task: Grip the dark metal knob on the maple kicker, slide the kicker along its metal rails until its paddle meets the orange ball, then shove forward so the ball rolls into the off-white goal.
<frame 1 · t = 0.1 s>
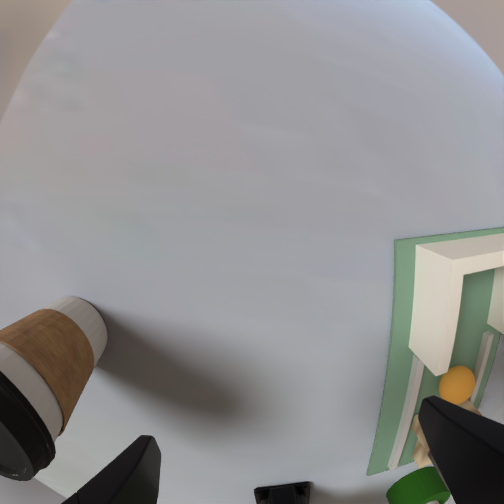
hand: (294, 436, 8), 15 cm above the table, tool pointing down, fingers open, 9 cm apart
candle: (411, 483, 30), on the table
kicker: (448, 452, 22), point 5 cm above the table, slide at 0.0 cm
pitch: (447, 365, 25), on the table
ball: (456, 385, 23), point 2 cm above the table, touching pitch
coffee cup: (79, 327, 23), on the table
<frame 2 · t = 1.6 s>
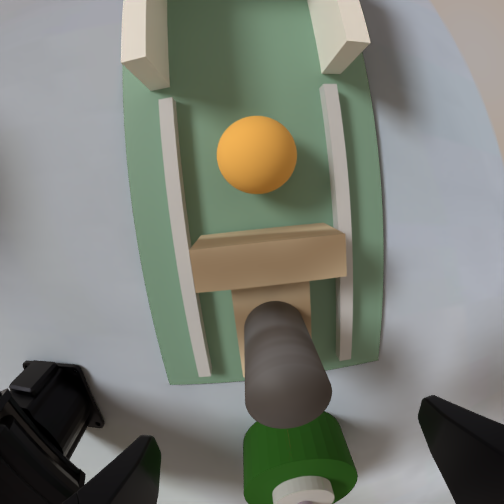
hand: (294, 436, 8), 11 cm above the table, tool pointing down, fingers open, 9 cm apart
candle: (292, 440, 22), on the table
kicker: (276, 326, 14), point 5 cm above the table, slide at 0.0 cm
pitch: (253, 141, 17), on the table
ball: (256, 154, 15), point 2 cm above the table, touching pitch
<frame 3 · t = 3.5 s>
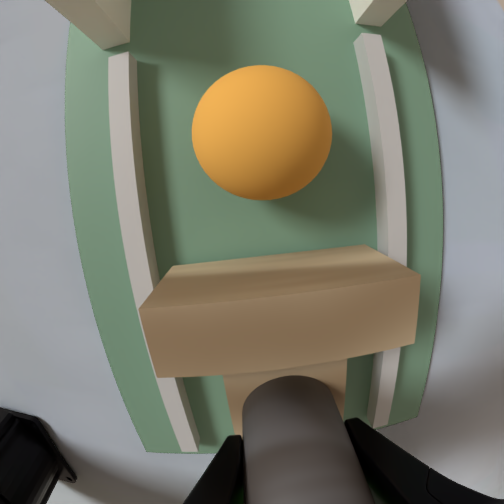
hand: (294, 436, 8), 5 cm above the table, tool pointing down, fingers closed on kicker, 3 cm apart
kicker: (295, 426, 8), point 5 cm above the table, slide at 0.0 cm, touching gripper
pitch: (254, 116, 11), on the table
ball: (261, 132, 8), point 2 cm above the table, touching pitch
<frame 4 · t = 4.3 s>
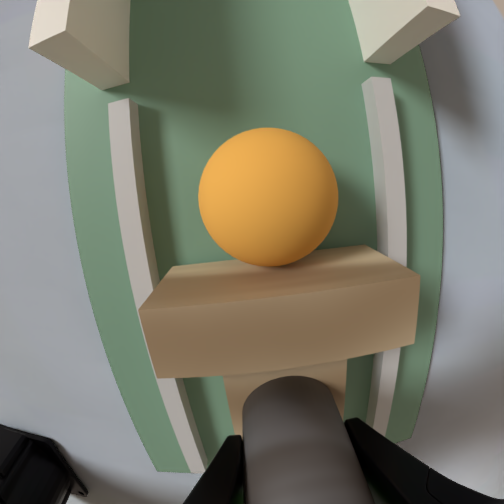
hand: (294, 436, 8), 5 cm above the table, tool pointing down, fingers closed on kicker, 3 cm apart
kicker: (295, 426, 8), point 5 cm above the table, slide at 1.9 cm, touching gripper
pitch: (260, 166, 11), on the table
ball: (268, 196, 9), point 2 cm above the table, touching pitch
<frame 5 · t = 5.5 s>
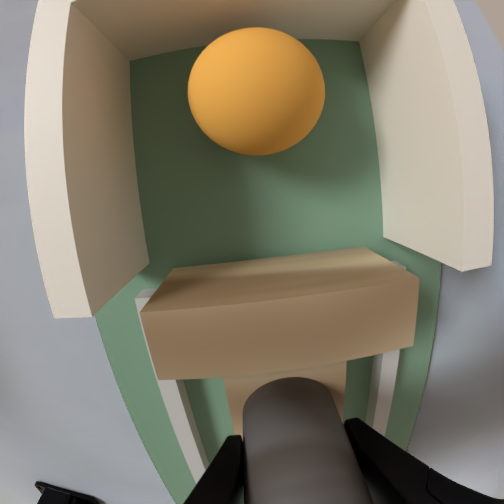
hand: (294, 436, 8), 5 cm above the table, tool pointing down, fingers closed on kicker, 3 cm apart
kicker: (295, 427, 8), point 5 cm above the table, slide at 8.8 cm, touching gripper
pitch: (277, 341, 13), on the table
ball: (256, 90, 8), point 2 cm above the table, tilted 70°, touching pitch
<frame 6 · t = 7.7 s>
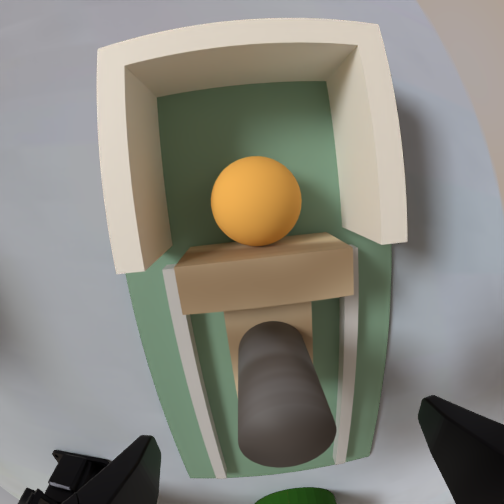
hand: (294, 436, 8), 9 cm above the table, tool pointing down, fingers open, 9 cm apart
kicker: (273, 351, 12), point 5 cm above the table, slide at 8.9 cm
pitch: (264, 304, 17), on the table
ball: (256, 201, 14), point 2 cm above the table, tilted 165°, touching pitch
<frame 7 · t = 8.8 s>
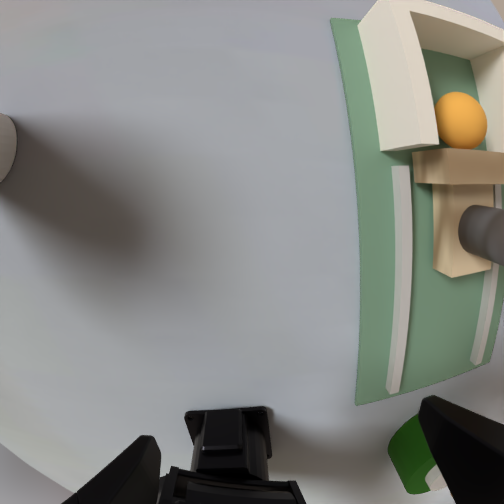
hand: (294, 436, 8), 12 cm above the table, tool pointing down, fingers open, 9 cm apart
candle: (422, 433, 24), on the table
kicker: (492, 217, 14), point 5 cm above the table, slide at 8.9 cm
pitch: (447, 207, 19), on the table
ball: (460, 120, 15), point 2 cm above the table, tilted 161°, touching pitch
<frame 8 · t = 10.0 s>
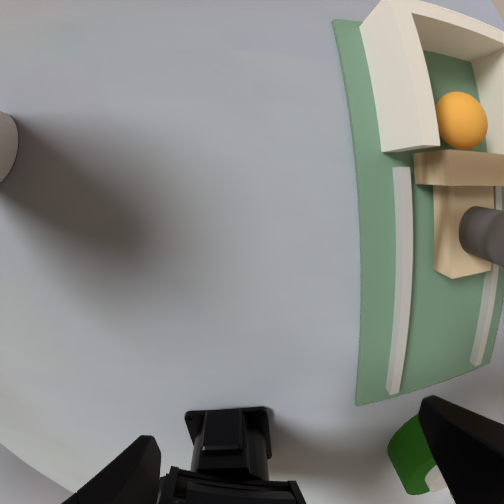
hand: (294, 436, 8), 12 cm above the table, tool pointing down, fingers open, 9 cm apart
candle: (421, 433, 24), on the table
kicker: (492, 218, 14), point 5 cm above the table, slide at 8.9 cm
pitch: (448, 208, 19), on the table
ball: (460, 120, 15), point 2 cm above the table, tilted 157°, touching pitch
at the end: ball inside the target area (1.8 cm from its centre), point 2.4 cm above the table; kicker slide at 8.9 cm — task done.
